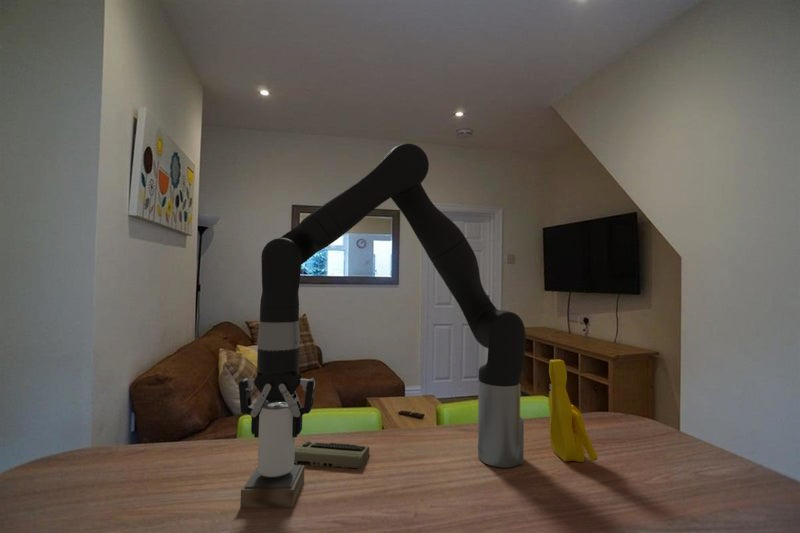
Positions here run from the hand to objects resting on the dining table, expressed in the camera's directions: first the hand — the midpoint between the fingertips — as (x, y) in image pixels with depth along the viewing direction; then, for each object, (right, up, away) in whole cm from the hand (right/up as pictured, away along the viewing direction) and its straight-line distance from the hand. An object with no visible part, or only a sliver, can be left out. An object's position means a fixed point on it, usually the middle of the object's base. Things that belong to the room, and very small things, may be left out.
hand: (276, 435), depth 71 cm
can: (0, -6, 0) cm, 6 cm away
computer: (+8, -12, +14) cm, 20 cm away
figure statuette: (+61, -12, +17) cm, 65 cm away
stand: (0, -10, 0) cm, 10 cm away
